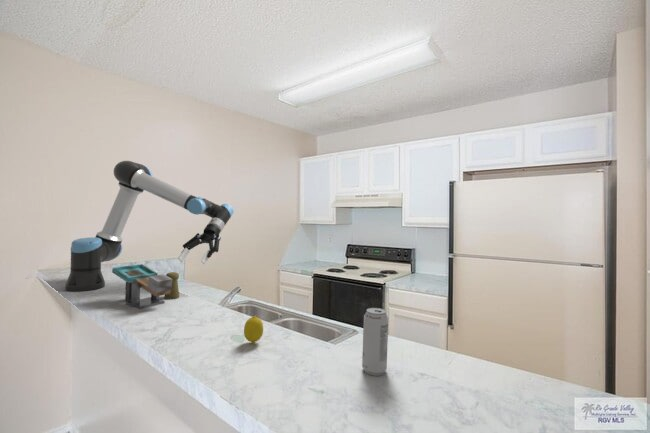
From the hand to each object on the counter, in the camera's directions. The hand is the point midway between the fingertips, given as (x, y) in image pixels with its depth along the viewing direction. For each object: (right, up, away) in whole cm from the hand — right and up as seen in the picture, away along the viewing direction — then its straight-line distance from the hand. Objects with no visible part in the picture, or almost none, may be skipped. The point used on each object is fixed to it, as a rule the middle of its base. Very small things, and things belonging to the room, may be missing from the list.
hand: (191, 261), depth 150 cm
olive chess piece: (-4, -15, -10) cm, 18 cm away
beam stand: (-13, -14, -19) cm, 27 cm away
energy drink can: (+75, -17, -70) cm, 104 cm away
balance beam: (-11, -7, -20) cm, 24 cm away
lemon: (+42, -16, -56) cm, 72 cm away
